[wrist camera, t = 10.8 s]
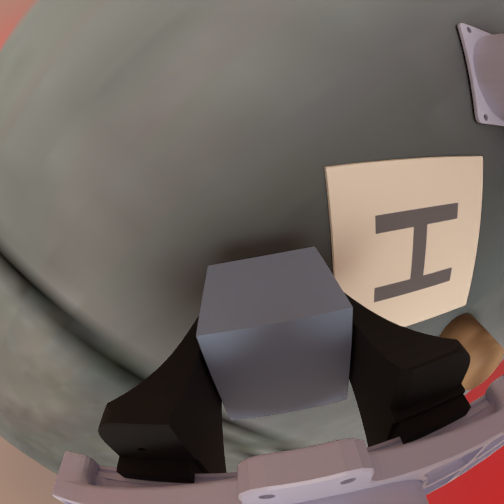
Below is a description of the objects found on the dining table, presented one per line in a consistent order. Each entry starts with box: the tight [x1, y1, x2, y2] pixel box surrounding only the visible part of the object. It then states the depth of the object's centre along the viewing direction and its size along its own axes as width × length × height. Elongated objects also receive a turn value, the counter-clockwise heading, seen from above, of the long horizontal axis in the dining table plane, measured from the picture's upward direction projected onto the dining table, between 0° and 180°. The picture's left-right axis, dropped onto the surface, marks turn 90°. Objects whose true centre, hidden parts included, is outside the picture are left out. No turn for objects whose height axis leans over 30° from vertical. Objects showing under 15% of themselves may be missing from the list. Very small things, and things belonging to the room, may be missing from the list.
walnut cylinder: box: [439, 313, 504, 390], centre depth 20 cm, size 5×5×6 cm
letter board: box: [324, 156, 483, 327], centre depth 18 cm, size 13×13×1 cm
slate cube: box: [196, 246, 353, 420], centre depth 12 cm, size 5×5×5 cm
